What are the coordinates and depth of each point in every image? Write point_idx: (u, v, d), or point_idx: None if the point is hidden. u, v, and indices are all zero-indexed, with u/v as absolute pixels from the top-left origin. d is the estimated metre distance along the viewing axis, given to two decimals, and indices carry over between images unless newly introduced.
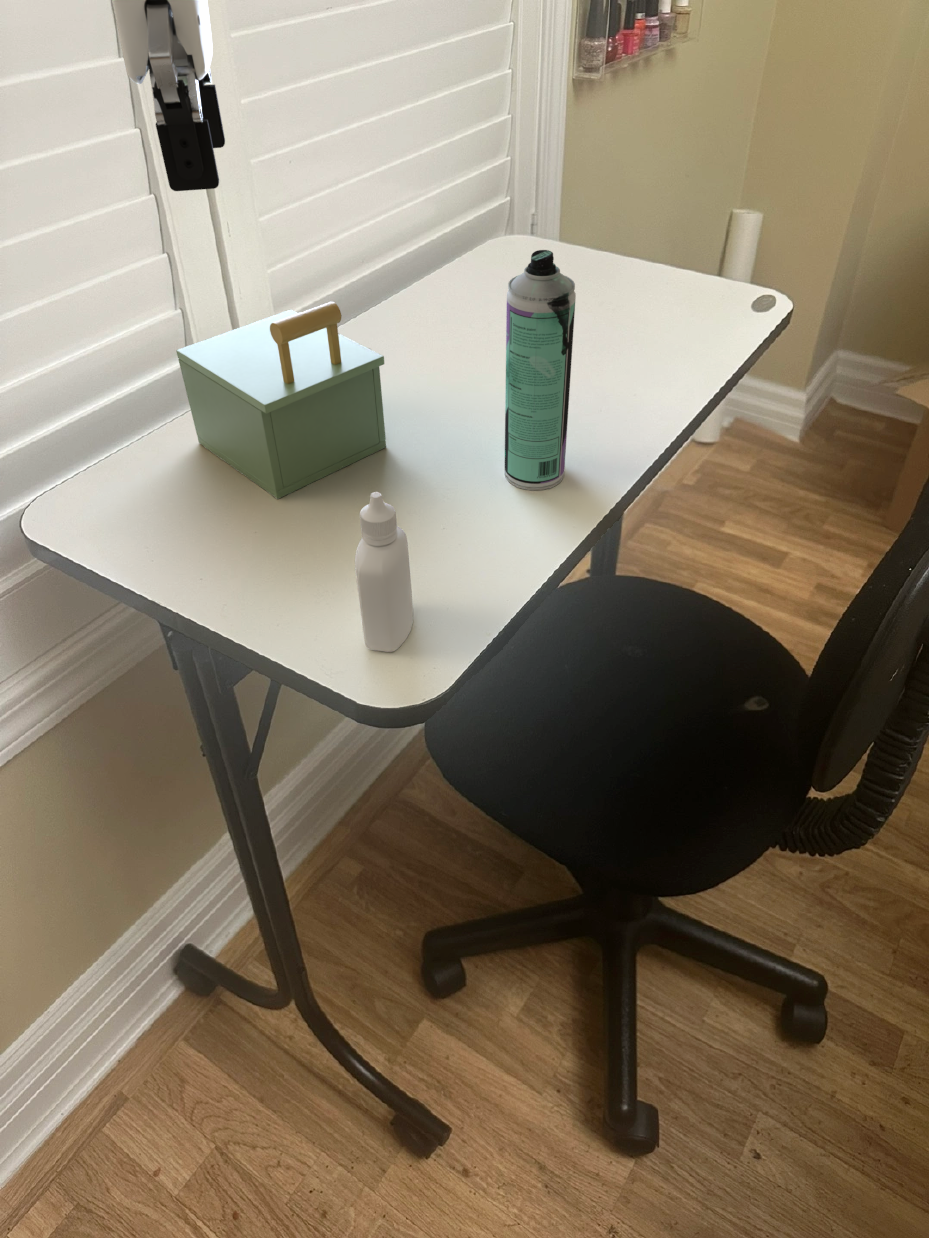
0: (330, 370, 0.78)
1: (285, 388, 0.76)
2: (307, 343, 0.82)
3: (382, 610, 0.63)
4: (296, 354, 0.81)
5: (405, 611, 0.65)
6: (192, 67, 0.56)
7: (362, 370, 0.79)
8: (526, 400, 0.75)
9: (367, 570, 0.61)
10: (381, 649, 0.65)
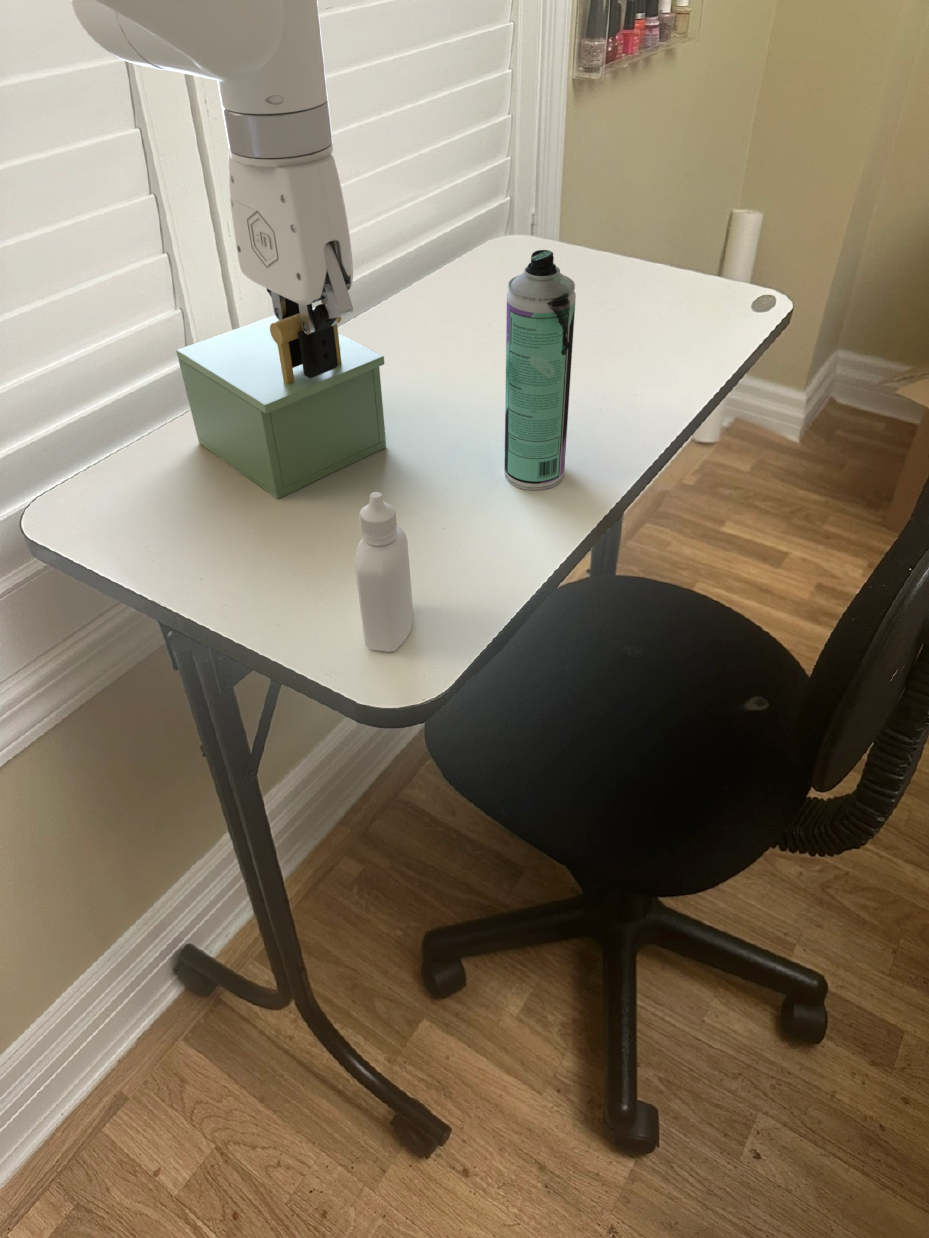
0: (330, 370, 0.78)
1: (285, 388, 0.76)
2: None
3: (382, 610, 0.63)
4: None
5: (405, 611, 0.65)
6: (345, 283, 0.71)
7: (362, 370, 0.79)
8: (526, 400, 0.75)
9: (367, 570, 0.61)
10: (381, 649, 0.65)
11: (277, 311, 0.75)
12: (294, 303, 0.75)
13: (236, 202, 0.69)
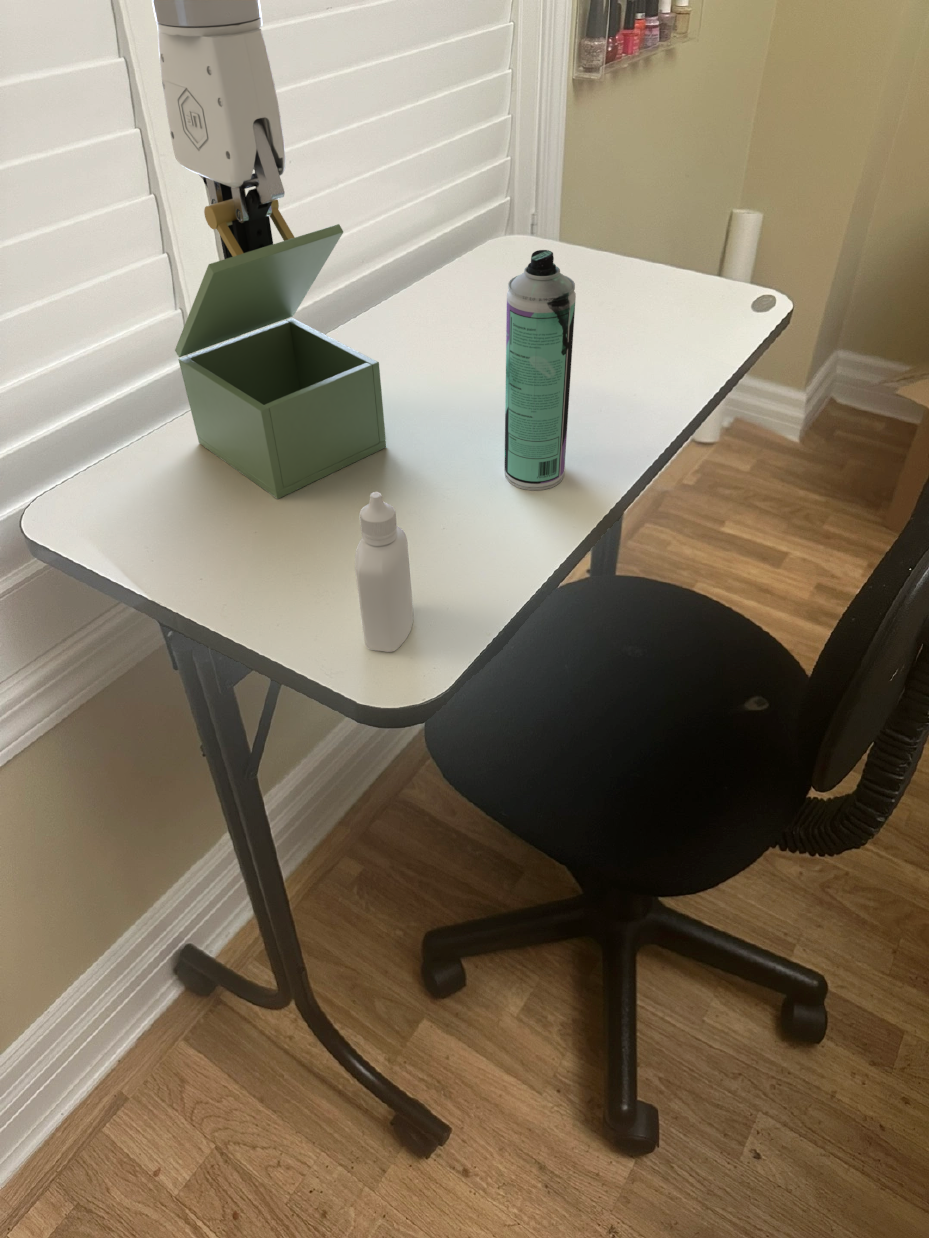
0: None
1: None
2: None
3: (382, 610, 0.63)
4: None
5: (405, 611, 0.65)
6: (277, 167, 0.70)
7: (318, 236, 0.75)
8: (526, 400, 0.75)
9: (367, 570, 0.61)
10: (381, 649, 0.65)
11: (214, 203, 0.75)
12: (231, 195, 0.75)
13: (167, 83, 0.69)
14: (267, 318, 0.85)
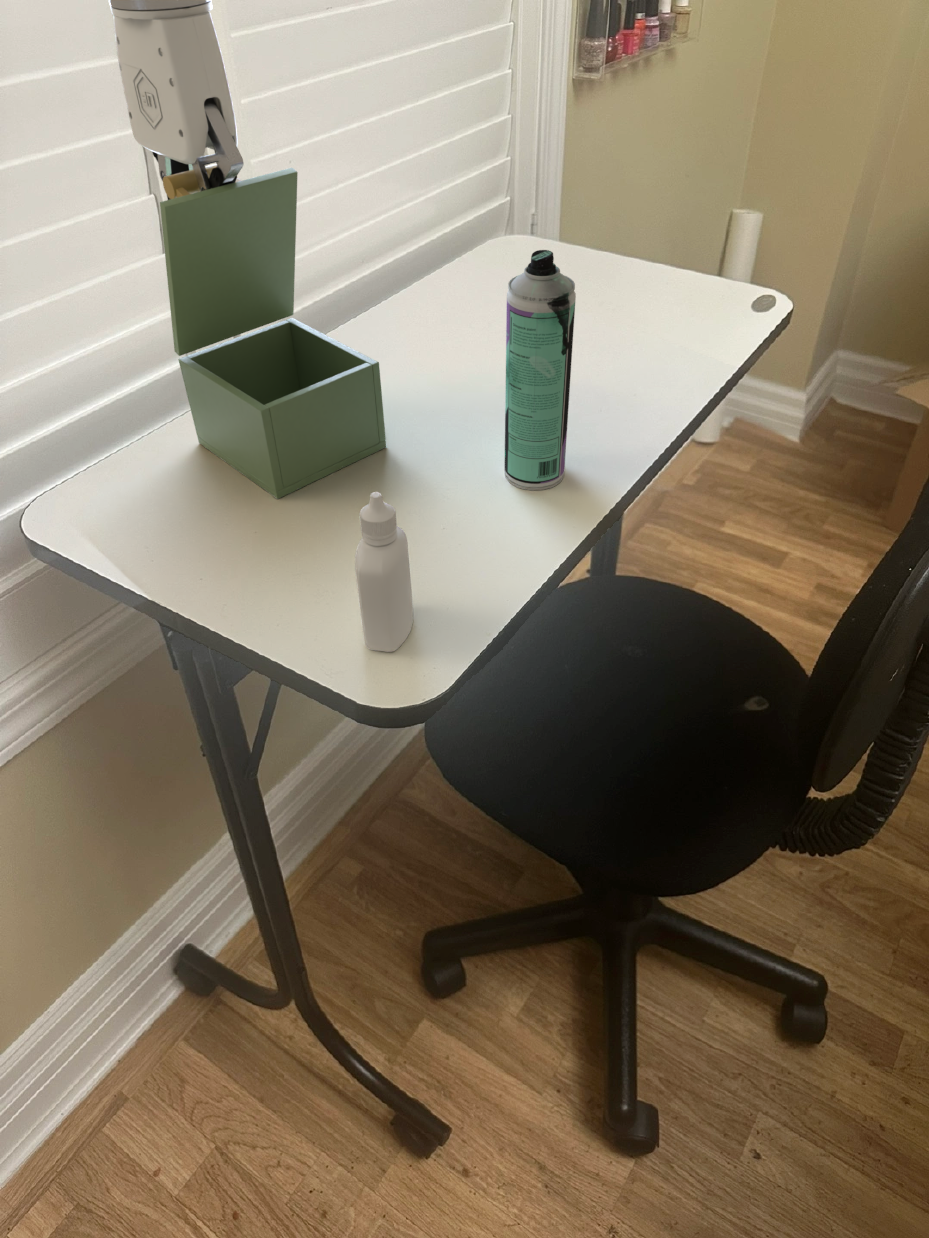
0: None
1: None
2: None
3: (382, 610, 0.63)
4: None
5: (405, 611, 0.65)
6: None
7: (271, 176, 0.76)
8: (526, 400, 0.75)
9: (367, 570, 0.61)
10: (381, 649, 0.65)
11: (162, 174, 0.79)
12: (179, 167, 0.79)
13: (123, 65, 0.72)
14: (262, 309, 0.85)
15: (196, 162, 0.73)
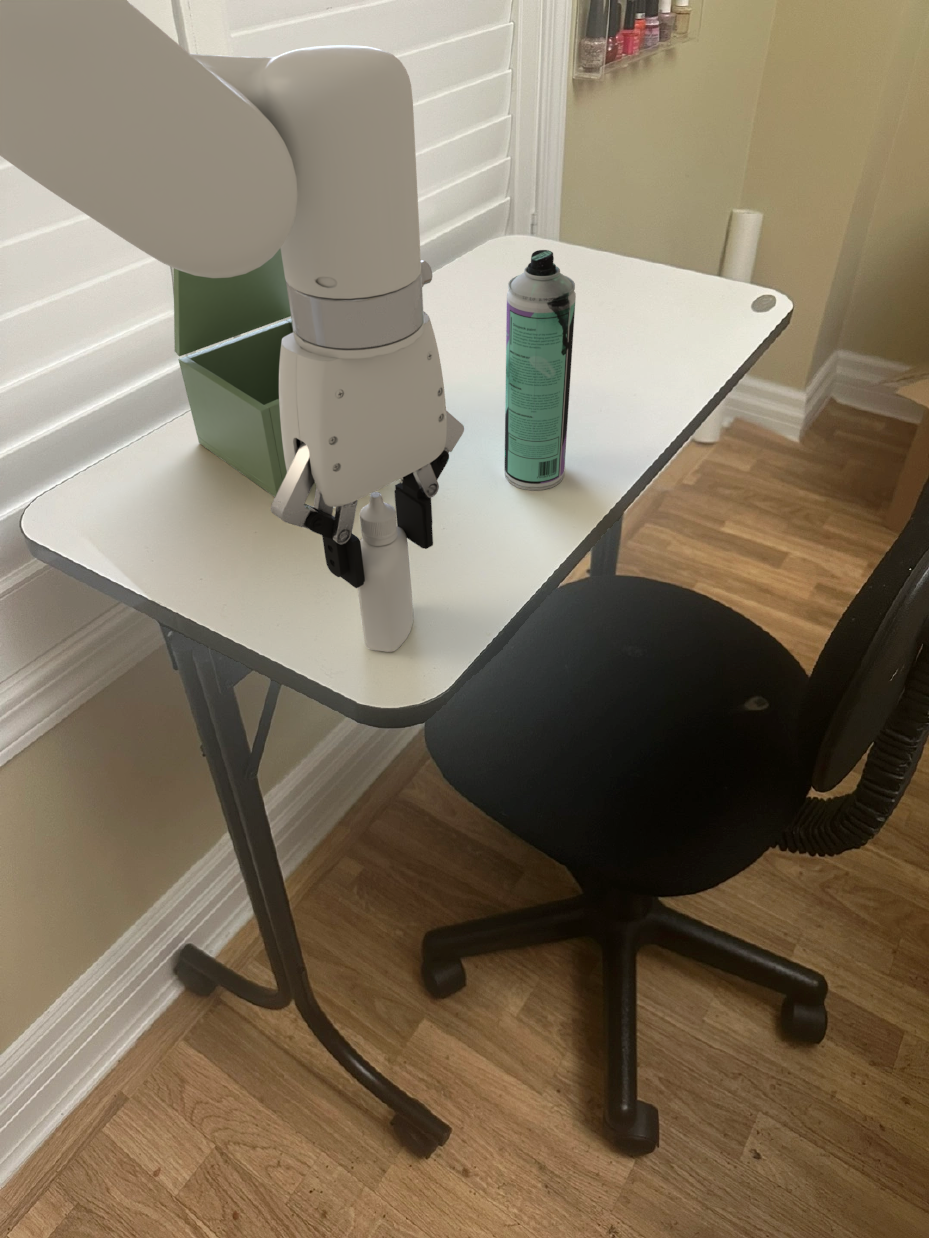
0: None
1: None
2: None
3: (382, 610, 0.63)
4: None
5: (405, 611, 0.65)
6: None
7: None
8: (526, 400, 0.75)
9: (367, 570, 0.61)
10: (381, 649, 0.65)
11: None
12: None
13: None
14: (264, 311, 0.85)
15: None
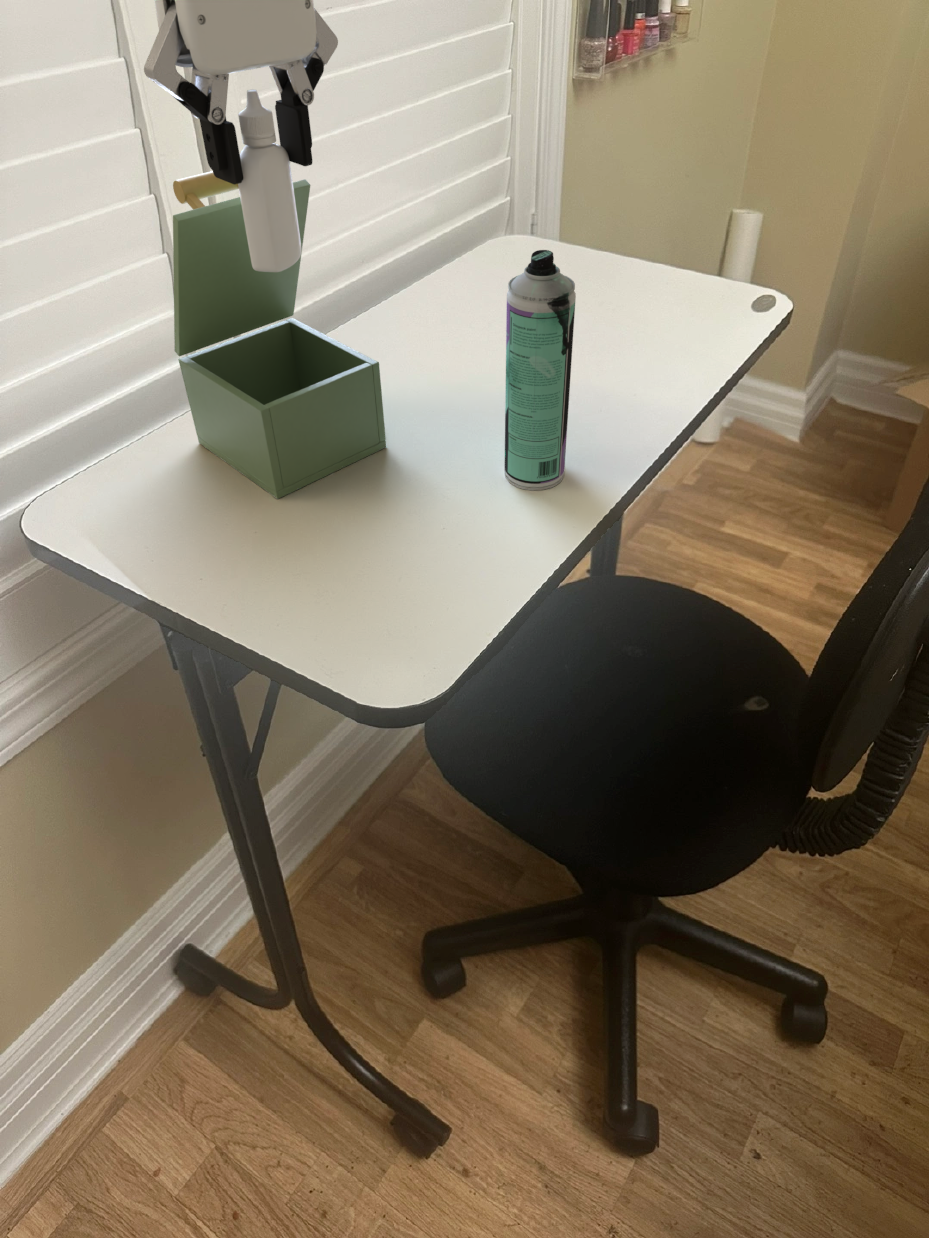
0: None
1: None
2: None
3: (263, 216, 0.67)
4: None
5: (289, 231, 0.70)
6: None
7: None
8: (526, 400, 0.75)
9: (245, 168, 0.65)
10: (266, 268, 0.70)
11: None
12: (293, 86, 0.66)
13: None
14: (264, 311, 0.85)
15: None
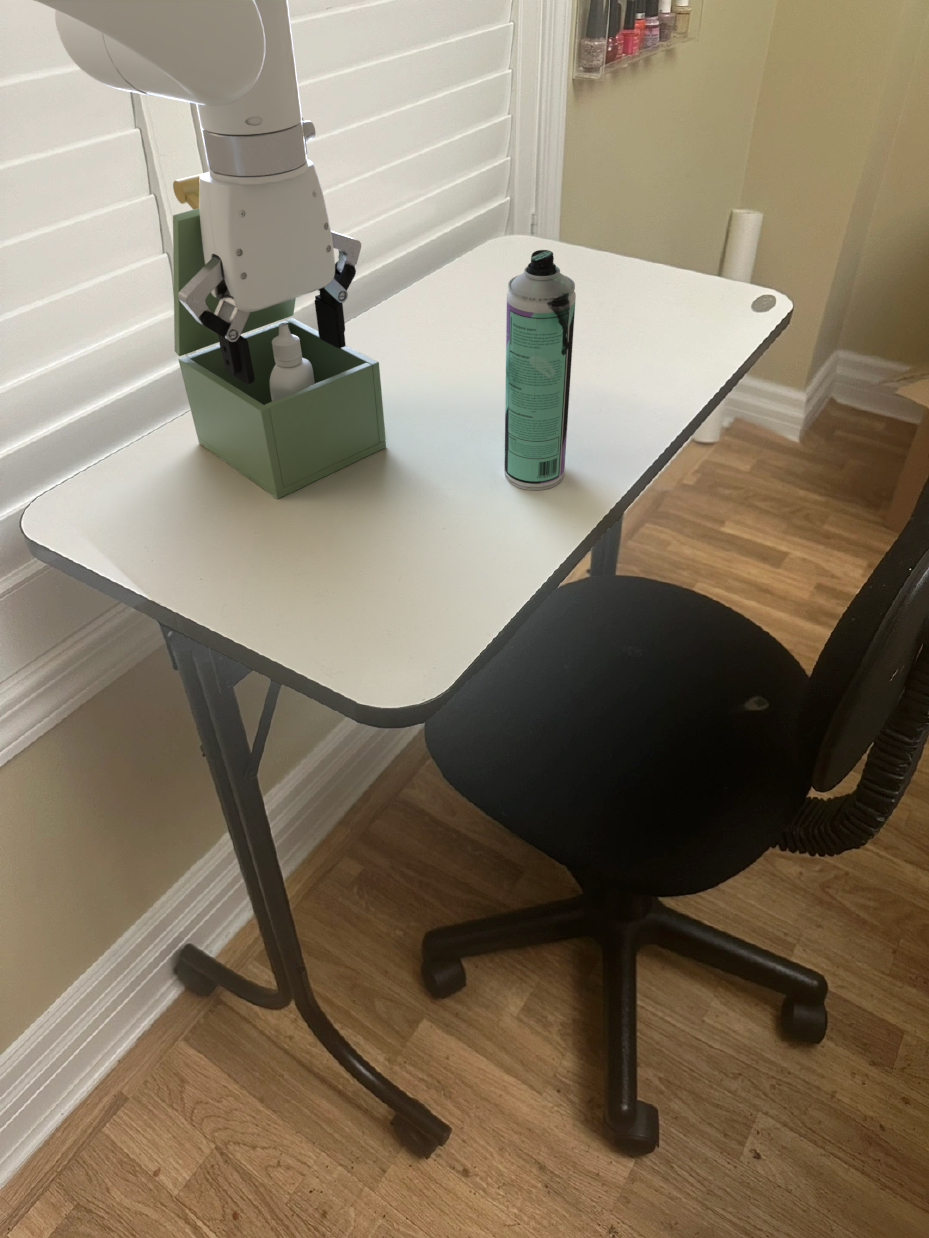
0: None
1: None
2: None
3: None
4: None
5: None
6: None
7: None
8: (526, 400, 0.75)
9: (278, 385, 0.79)
10: None
11: None
12: None
13: None
14: (264, 311, 0.85)
15: None
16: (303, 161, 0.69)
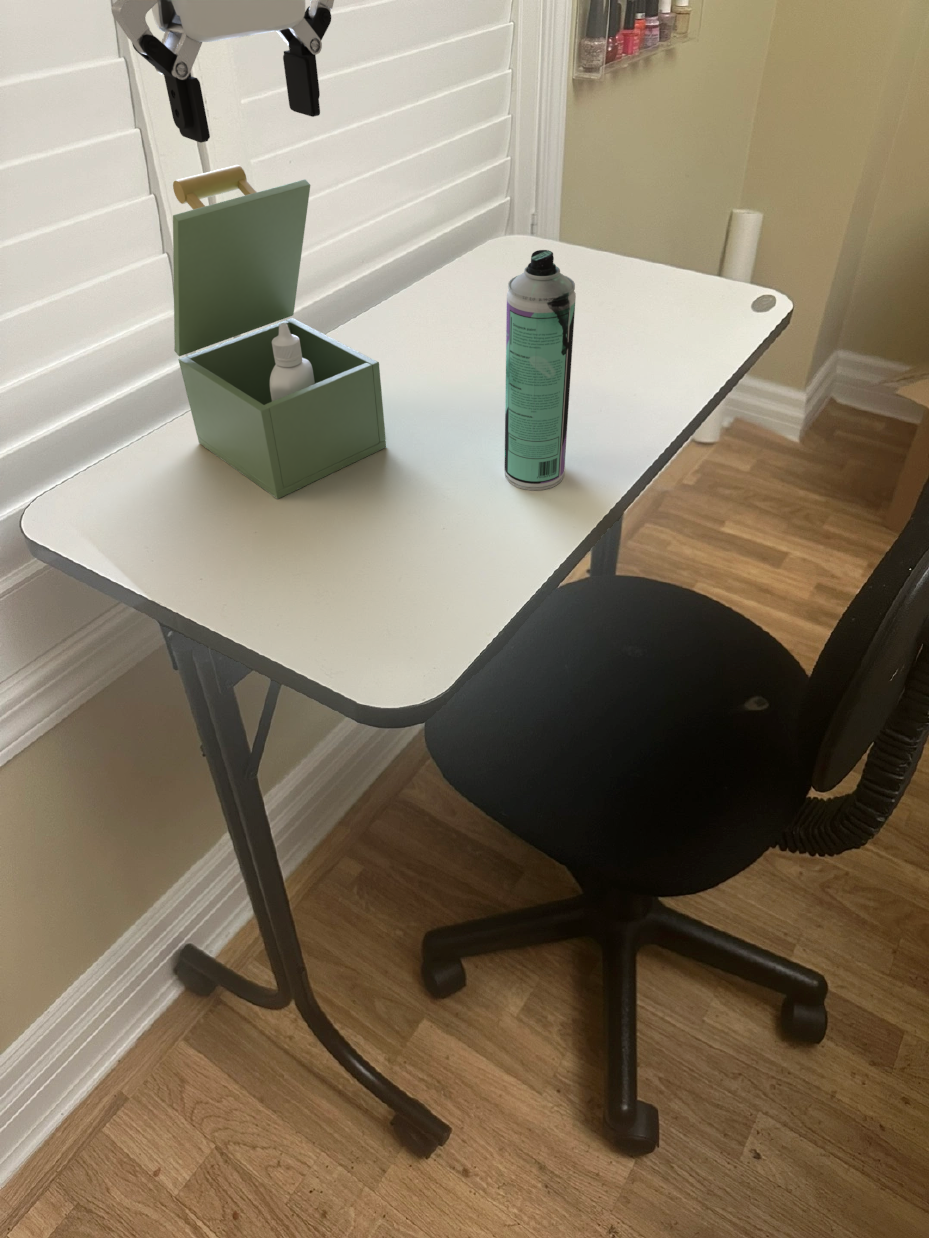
0: None
1: None
2: None
3: None
4: None
5: None
6: None
7: (284, 189, 0.75)
8: (526, 400, 0.75)
9: (278, 385, 0.79)
10: None
11: None
12: None
13: None
14: (264, 311, 0.85)
15: None
16: None
